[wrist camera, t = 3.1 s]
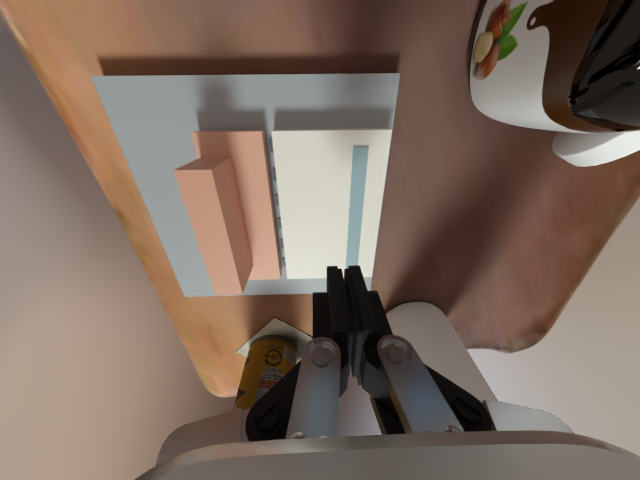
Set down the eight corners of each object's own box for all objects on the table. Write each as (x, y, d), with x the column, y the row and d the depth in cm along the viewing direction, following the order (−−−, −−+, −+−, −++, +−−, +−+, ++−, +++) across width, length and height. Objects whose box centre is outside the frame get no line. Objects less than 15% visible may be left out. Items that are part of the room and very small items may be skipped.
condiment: (235, 350, 29) (193, 485, 19) (275, 316, 26) (249, 454, 16) (281, 371, 32) (266, 499, 22) (322, 341, 29) (326, 474, 18)
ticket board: (103, 77, 14) (70, 73, 12) (395, 74, 15) (407, 70, 13) (189, 289, 24) (178, 306, 22) (367, 285, 24) (372, 302, 22)
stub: (197, 130, 15) (158, 139, 11) (264, 129, 15) (248, 138, 11) (234, 273, 21) (217, 309, 17) (281, 272, 21) (275, 308, 17)
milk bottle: (393, 293, 25) (577, 728, 7) (456, 305, 26) (738, 704, 9) (367, 337, 28) (450, 694, 11) (423, 346, 30) (574, 681, 12)
